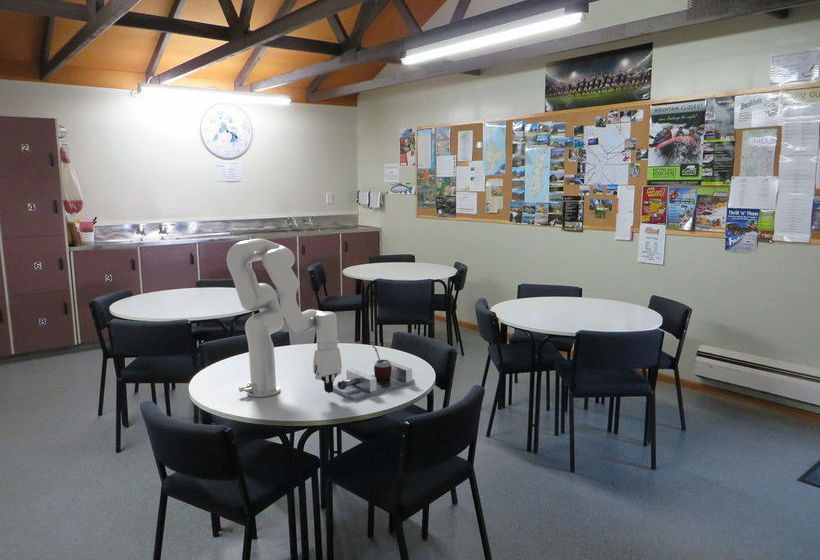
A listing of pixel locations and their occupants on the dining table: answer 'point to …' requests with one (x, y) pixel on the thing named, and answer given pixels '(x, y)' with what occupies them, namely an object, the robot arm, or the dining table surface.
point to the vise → (380, 384)
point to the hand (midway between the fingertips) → (328, 391)
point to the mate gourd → (382, 369)
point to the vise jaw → (358, 380)
